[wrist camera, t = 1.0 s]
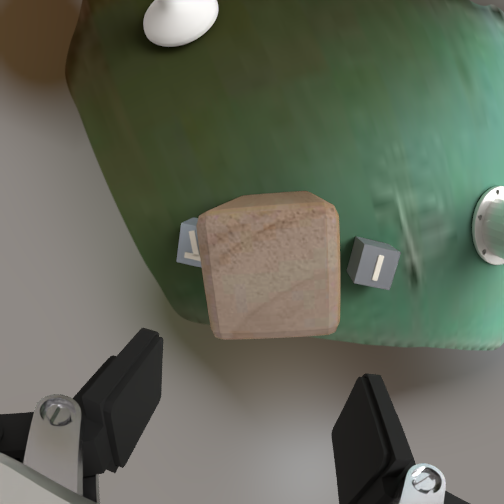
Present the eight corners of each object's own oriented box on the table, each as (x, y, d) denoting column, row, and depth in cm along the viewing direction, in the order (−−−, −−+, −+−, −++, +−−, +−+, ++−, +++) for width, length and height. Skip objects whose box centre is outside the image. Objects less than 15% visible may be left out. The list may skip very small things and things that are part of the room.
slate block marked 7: (228, 224, 41) (220, 231, 36) (222, 259, 42) (214, 270, 37) (193, 217, 41) (180, 223, 36) (188, 252, 42) (175, 262, 37)
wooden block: (316, 264, 41) (341, 338, 21) (243, 269, 42) (209, 344, 23) (312, 190, 38) (340, 202, 19) (235, 195, 40) (190, 213, 20)
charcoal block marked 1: (388, 243, 39) (401, 252, 34) (378, 277, 40) (389, 290, 35) (355, 236, 39) (365, 244, 34) (346, 271, 41) (354, 283, 36)
